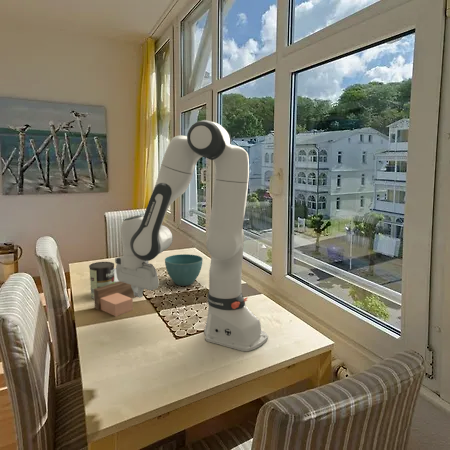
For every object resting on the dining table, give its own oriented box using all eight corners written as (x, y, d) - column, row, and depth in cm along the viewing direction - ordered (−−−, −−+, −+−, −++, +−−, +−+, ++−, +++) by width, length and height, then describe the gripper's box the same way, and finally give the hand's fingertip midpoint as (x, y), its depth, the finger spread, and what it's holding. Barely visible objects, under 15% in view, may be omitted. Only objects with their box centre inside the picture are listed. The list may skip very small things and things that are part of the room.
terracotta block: (132, 310, 143) (132, 298, 142) (115, 316, 137) (115, 304, 136) (117, 304, 149) (117, 292, 148) (100, 310, 143) (100, 298, 142)
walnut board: (139, 295, 158) (139, 278, 156) (99, 309, 142) (98, 290, 141) (135, 294, 160) (134, 277, 158) (94, 307, 144) (93, 289, 143)
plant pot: (158, 286, 170) (157, 261, 168) (175, 275, 187) (175, 252, 185) (193, 291, 164) (193, 265, 162) (207, 279, 181) (208, 256, 179)
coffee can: (119, 292, 162) (118, 262, 159) (107, 300, 152) (106, 268, 149) (98, 290, 164) (97, 260, 161) (85, 298, 154) (84, 267, 151)
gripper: (161, 262, 126) (163, 299, 128) (126, 254, 139) (128, 288, 141) (147, 266, 121) (150, 305, 124) (112, 258, 134) (114, 293, 136)
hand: (138, 296), depth 132 cm, fingers closed
